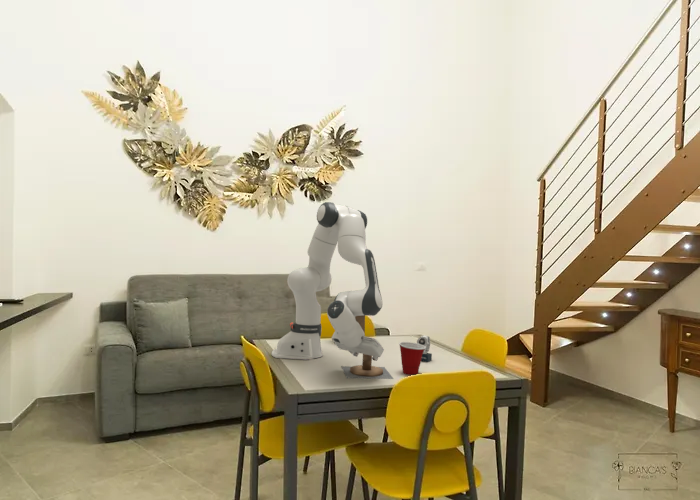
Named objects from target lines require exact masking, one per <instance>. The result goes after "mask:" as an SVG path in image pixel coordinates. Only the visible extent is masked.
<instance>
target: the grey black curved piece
mask: <svg viewBox="0 0 700 500" xmlns="http://www.w3.org/2000/svg"><path fill="white" fill-rule="evenodd" d="M416 343H417V344H421V345H424V346H425V347H426V348H425V350H424V352H423V354H422V359H421V362H424V363H429V362H432V355H433V354H432V353H431V352H430V353H429V351H430V347H431V338H430V336H429V335H421V336H420V337H419V338H418V339H417V340H416Z"/></svg>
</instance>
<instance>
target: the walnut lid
mask: <svg viewBox="0 0 700 500" xmlns="http://www.w3.org/2000/svg"><path fill="white" fill-rule="evenodd" d="M372 357H373V356H370V355H366V354H362V364H361V365H360V364H359V365H352V367H351V368H350V372H351V373H352V374H355V375H359V376H367V377H373V376H380V375H382V374H383V369H381V368H379V367H380V366H374V365H372V364H373V363H372V361H373V359H372Z"/></svg>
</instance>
